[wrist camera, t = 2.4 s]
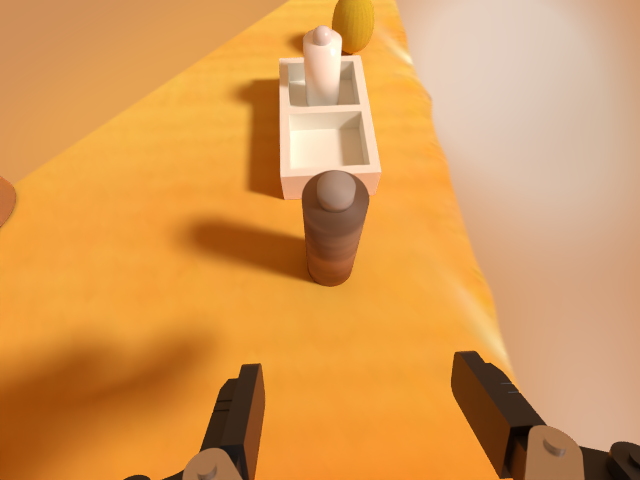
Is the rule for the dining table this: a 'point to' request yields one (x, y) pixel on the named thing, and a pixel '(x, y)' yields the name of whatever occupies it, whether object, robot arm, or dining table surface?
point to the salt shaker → (322, 66)
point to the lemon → (353, 23)
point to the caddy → (325, 129)
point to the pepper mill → (333, 224)
